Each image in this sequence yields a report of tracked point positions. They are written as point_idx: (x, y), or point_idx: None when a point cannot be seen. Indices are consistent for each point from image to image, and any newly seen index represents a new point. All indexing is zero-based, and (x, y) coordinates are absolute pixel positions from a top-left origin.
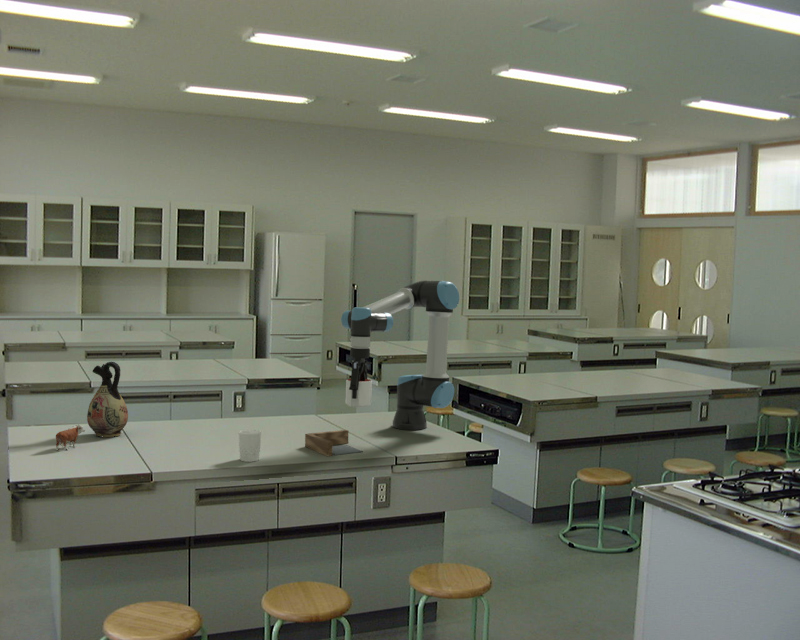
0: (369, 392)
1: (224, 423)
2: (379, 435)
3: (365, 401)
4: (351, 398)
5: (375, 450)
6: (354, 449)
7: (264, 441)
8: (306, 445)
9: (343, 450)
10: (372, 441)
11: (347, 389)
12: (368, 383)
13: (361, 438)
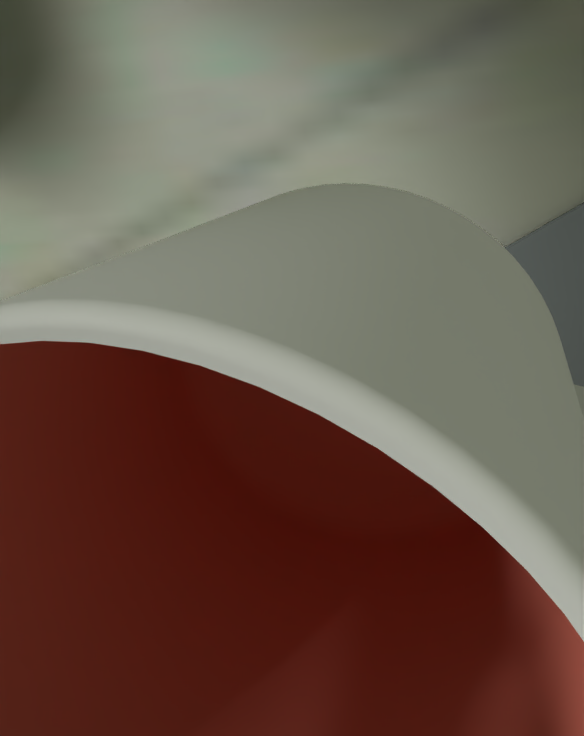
0: (458, 272)
1: None
2: (25, 105)
3: (542, 301)
4: None
5: (534, 83)
6: (539, 261)
7: None
8: None
9: (575, 339)
10: (214, 140)
11: (425, 728)
12: (513, 444)
13: (145, 226)
